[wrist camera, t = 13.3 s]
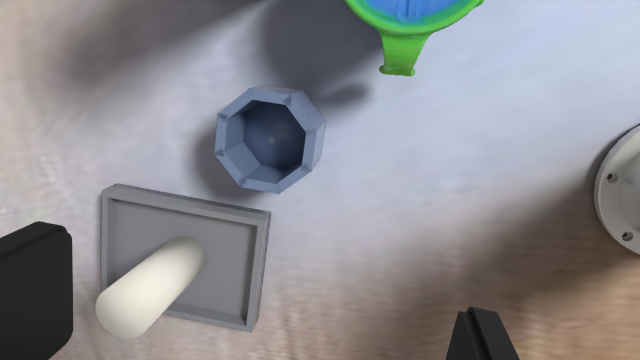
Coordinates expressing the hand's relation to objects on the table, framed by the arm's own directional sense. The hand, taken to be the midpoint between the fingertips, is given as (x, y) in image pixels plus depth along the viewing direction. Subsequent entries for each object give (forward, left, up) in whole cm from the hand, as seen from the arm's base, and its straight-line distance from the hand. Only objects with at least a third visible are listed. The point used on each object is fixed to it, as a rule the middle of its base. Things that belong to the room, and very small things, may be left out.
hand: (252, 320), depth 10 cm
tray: (+14, +15, -30) cm, 37 cm away
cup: (+6, +1, -30) cm, 31 cm away
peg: (+14, +15, -29) cm, 36 cm away
